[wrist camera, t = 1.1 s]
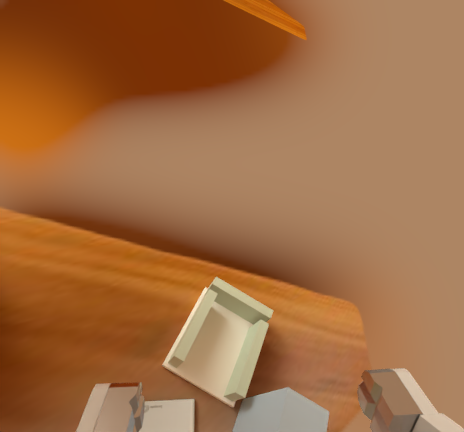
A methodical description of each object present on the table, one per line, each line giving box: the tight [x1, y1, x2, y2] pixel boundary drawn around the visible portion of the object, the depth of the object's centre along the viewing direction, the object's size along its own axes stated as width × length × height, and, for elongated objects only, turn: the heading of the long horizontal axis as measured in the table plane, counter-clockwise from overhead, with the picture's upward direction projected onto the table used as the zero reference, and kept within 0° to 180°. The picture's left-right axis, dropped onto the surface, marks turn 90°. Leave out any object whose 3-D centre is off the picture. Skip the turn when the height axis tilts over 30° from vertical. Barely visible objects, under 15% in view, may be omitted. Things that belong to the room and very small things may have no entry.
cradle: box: [162, 277, 273, 407], centre depth 44 cm, size 12×14×6 cm
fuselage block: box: [232, 387, 329, 432], centre depth 36 cm, size 6×6×14 cm
